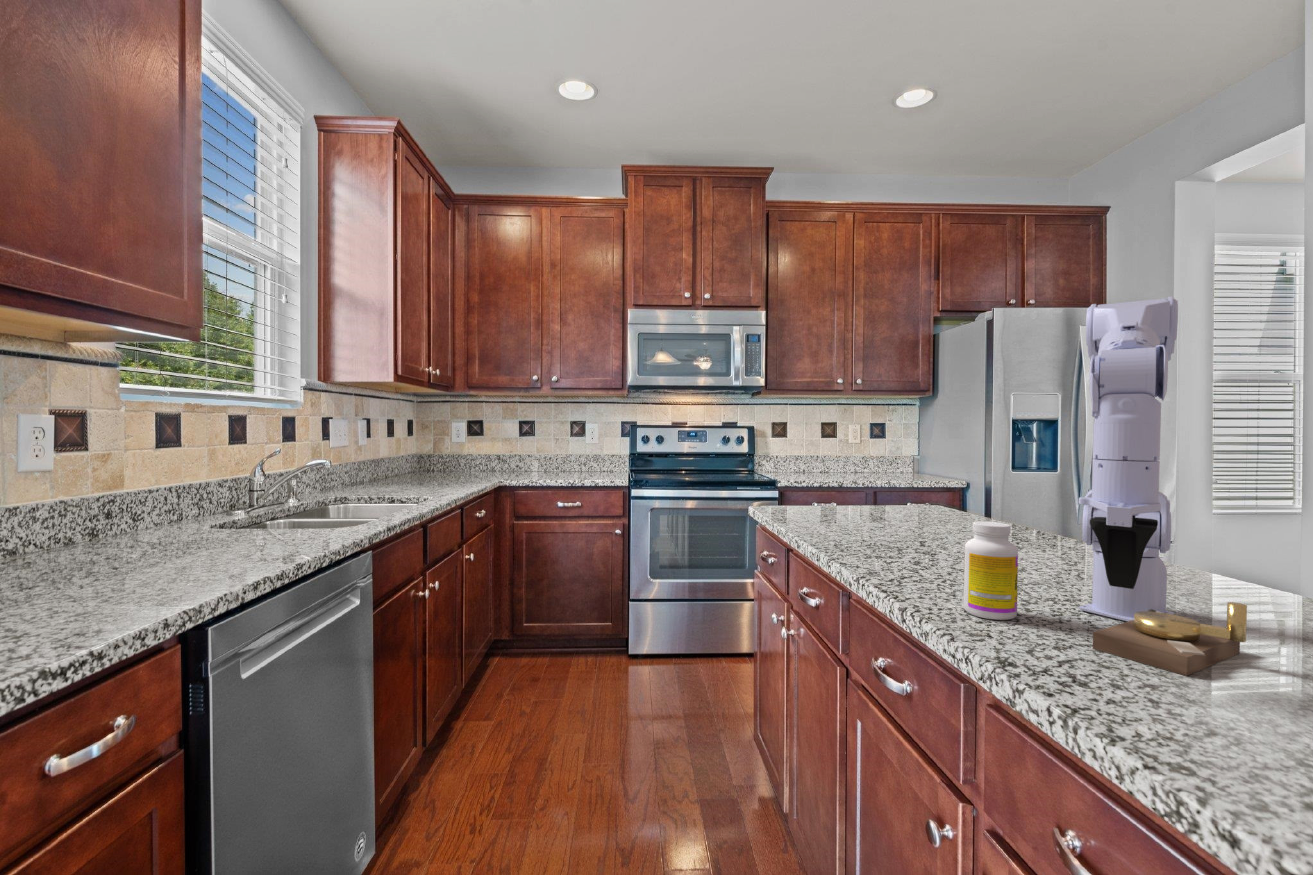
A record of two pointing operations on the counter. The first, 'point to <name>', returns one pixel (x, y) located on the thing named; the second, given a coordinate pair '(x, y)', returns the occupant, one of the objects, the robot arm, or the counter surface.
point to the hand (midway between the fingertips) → (1122, 585)
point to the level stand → (1164, 648)
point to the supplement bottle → (991, 572)
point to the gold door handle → (1193, 625)
